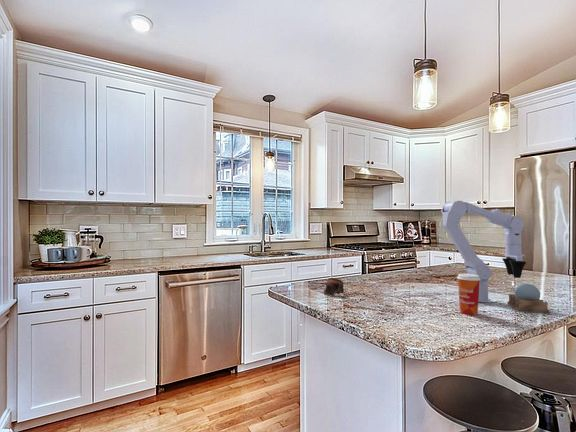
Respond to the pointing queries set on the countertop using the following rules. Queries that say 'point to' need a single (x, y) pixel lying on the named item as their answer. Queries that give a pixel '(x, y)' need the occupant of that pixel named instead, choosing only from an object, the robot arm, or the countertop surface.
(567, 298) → the countertop surface
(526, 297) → the grey rounded disc
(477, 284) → the paper cup
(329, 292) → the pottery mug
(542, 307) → the rack
